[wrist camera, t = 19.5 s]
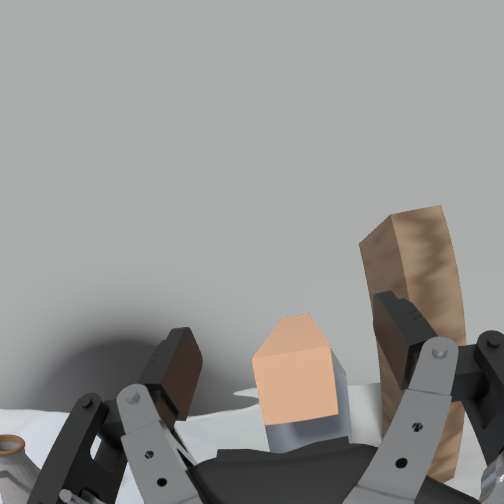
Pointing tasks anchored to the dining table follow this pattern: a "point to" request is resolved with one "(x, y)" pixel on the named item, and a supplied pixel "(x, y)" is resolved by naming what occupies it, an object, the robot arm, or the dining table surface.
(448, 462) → the stand
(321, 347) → the block
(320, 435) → the pedestal
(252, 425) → the dining table surface
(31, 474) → the coffee pot
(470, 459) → the dining table surface
